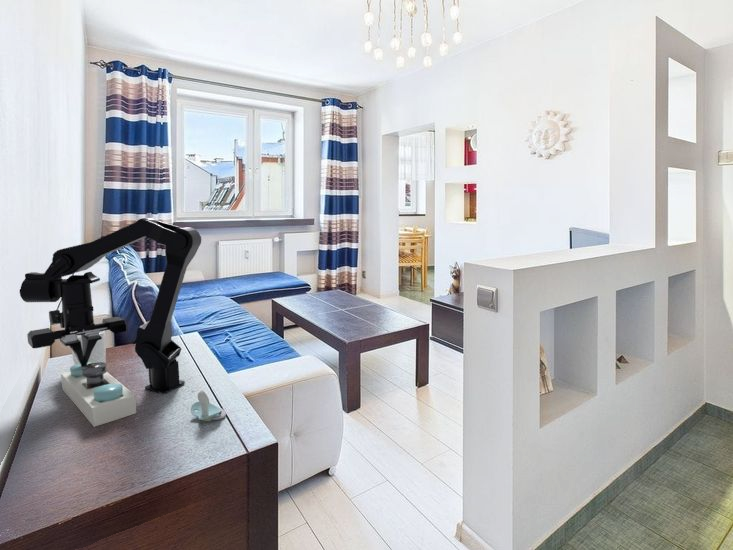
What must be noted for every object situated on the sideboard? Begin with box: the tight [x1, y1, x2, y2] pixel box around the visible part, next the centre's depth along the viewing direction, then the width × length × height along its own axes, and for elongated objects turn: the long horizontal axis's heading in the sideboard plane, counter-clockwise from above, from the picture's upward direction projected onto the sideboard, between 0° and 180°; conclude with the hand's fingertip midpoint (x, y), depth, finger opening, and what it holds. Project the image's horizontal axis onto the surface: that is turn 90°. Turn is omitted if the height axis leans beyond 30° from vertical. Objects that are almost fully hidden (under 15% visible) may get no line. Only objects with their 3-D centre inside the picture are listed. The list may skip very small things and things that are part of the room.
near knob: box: [93, 383, 123, 403], centre depth 88 cm, size 5×5×5 cm
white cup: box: [70, 330, 107, 365], centre depth 112 cm, size 8×8×10 cm
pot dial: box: [81, 362, 108, 389], centre depth 94 cm, size 5×5×5 cm
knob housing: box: [60, 370, 137, 428], centre depth 94 cm, size 25×8×4 cm, turn 47°
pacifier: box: [190, 389, 227, 422], centre depth 88 cm, size 7×6×6 cm
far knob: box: [69, 362, 95, 378], centre depth 100 cm, size 5×5×5 cm
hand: (83, 366), depth 100 cm, fingers closed, pressing on far knob
